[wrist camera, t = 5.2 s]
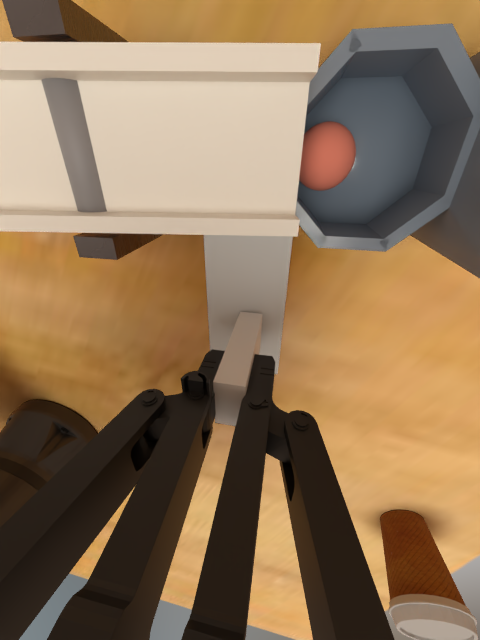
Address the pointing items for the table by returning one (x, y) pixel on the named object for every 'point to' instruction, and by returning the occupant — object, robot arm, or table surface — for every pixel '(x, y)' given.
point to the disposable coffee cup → (421, 583)
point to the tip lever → (164, 155)
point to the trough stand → (72, 26)
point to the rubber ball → (326, 156)
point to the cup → (400, 143)
